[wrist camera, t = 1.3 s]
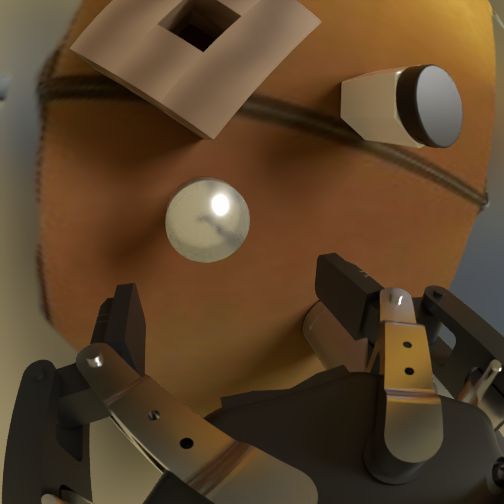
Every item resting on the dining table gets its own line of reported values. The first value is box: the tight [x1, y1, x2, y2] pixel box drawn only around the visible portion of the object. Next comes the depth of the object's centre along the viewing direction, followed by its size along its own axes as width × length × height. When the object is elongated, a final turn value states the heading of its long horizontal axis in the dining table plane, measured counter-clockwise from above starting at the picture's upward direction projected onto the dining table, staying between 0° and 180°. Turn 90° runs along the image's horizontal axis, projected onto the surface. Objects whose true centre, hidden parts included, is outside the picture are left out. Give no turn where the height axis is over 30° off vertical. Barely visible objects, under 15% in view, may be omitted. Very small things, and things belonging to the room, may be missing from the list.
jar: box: [340, 64, 463, 148], centre depth 23 cm, size 9×8×12 cm
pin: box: [166, 176, 250, 262], centre depth 23 cm, size 6×6×10 cm
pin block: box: [69, 0, 321, 140], centre depth 18 cm, size 14×14×8 cm
